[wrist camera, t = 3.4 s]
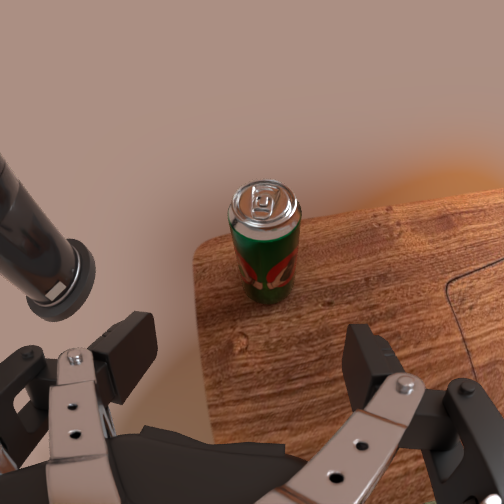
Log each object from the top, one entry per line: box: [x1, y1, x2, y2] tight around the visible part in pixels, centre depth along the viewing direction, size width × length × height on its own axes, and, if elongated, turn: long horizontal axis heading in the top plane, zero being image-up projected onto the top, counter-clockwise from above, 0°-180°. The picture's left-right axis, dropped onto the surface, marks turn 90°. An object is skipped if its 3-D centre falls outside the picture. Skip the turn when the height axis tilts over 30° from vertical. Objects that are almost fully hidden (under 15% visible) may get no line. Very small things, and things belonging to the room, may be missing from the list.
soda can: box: [228, 179, 302, 304], centre depth 24 cm, size 5×5×12 cm
